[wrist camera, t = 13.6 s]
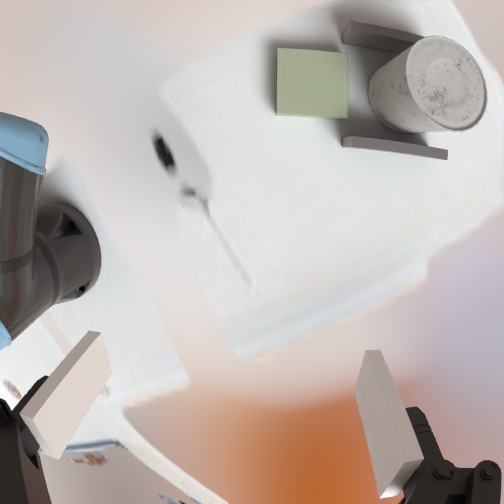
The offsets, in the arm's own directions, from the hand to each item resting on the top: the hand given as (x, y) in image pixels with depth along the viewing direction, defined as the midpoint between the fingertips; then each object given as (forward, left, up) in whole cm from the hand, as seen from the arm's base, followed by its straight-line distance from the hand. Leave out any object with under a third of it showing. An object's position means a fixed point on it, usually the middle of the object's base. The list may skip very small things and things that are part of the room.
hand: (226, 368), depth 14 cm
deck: (+6, +18, -27) cm, 33 cm away
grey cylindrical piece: (+18, +18, -27) cm, 37 cm away
